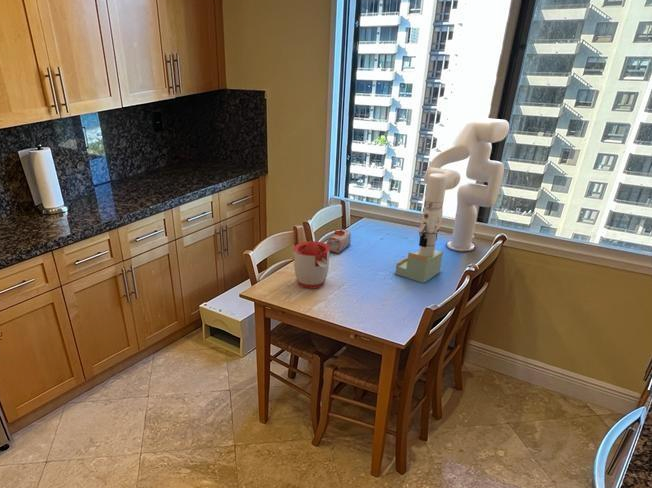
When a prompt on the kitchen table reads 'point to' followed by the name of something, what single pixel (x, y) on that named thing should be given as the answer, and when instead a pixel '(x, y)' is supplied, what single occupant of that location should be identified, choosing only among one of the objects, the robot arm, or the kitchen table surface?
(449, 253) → the kitchen table surface
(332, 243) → the food item
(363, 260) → the kitchen table surface
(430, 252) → the syrup box
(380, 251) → the kitchen table surface
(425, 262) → the stepped box
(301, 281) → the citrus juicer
